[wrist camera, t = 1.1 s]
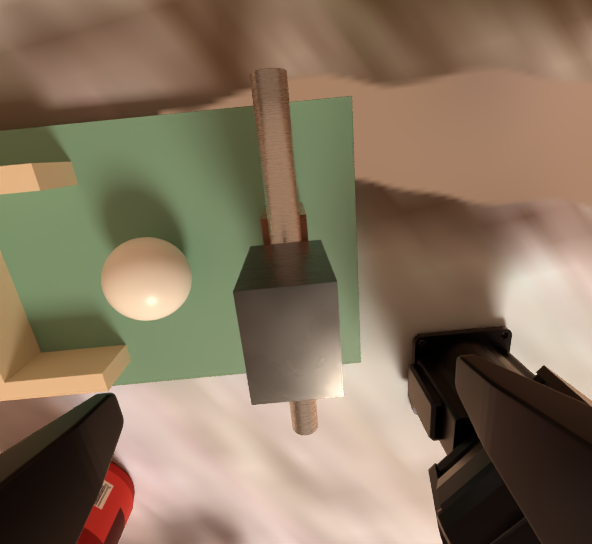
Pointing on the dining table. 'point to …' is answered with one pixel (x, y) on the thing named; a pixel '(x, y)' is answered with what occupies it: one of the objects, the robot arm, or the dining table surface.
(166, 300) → the ball
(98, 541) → the canned food
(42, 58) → the dining table surface
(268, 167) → the kicker rod
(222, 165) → the pitch
